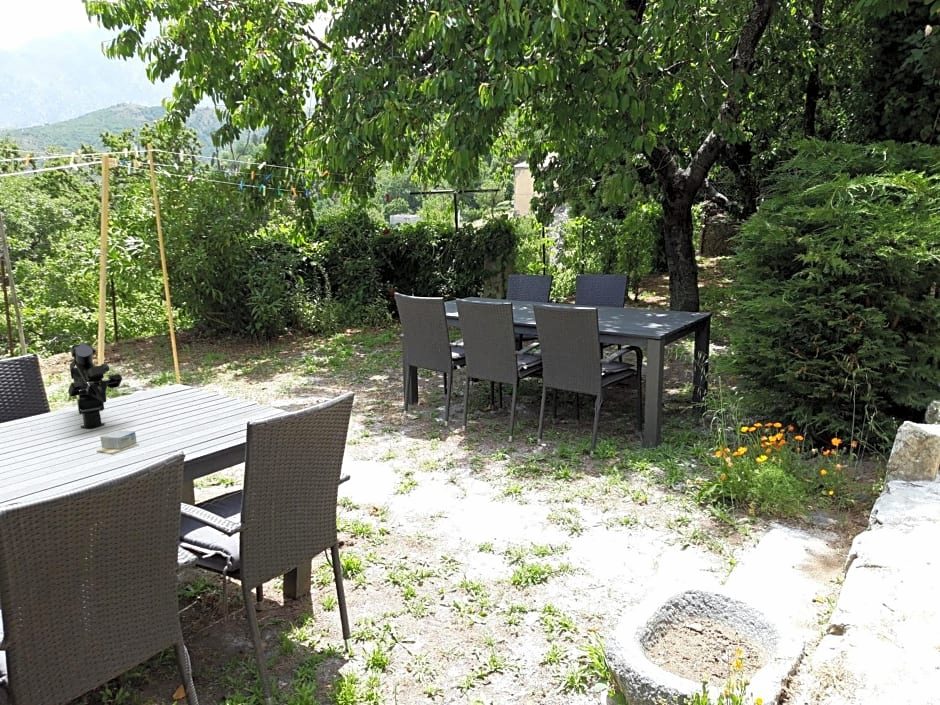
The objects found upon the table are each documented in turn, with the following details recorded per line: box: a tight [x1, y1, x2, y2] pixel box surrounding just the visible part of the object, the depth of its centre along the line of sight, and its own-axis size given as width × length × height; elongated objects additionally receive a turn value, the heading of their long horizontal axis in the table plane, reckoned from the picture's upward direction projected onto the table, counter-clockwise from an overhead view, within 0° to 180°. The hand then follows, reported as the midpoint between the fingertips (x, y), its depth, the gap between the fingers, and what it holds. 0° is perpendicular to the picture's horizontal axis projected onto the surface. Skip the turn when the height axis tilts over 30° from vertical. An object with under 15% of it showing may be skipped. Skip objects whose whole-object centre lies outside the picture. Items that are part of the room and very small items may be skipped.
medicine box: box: [100, 429, 137, 449], centre depth 251 cm, size 8×4×9 cm
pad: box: [96, 442, 140, 456], centre depth 250 cm, size 8×11×1 cm
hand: (105, 401), depth 267 cm, fingers closed
